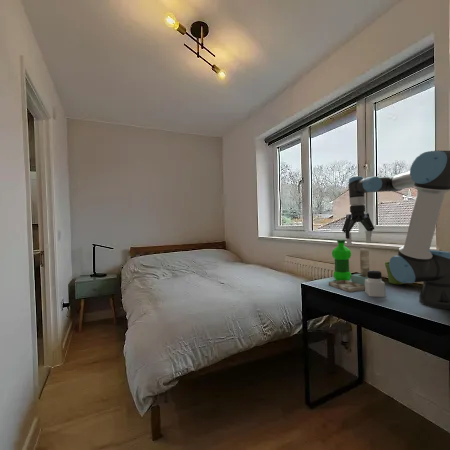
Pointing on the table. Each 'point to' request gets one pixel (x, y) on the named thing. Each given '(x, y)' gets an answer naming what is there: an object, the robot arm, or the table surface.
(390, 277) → the plant pot
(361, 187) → the robot arm
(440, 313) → the table surface
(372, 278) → the medicine bottle
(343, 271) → the plastic bottle
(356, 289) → the tray
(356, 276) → the teal square bowl
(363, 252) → the dowel
